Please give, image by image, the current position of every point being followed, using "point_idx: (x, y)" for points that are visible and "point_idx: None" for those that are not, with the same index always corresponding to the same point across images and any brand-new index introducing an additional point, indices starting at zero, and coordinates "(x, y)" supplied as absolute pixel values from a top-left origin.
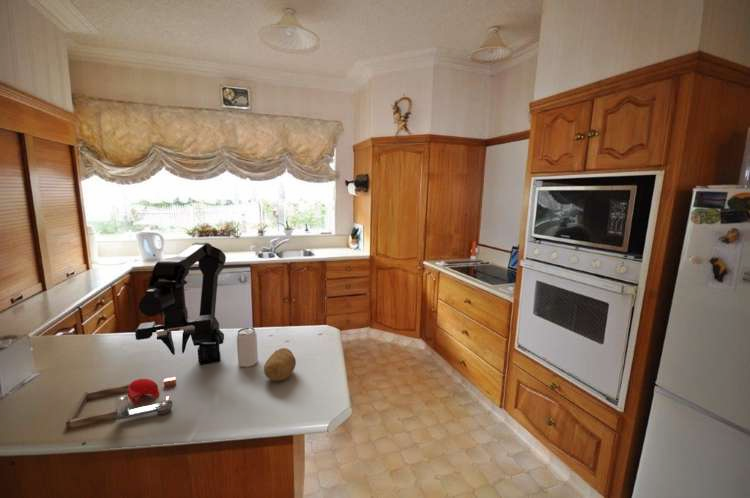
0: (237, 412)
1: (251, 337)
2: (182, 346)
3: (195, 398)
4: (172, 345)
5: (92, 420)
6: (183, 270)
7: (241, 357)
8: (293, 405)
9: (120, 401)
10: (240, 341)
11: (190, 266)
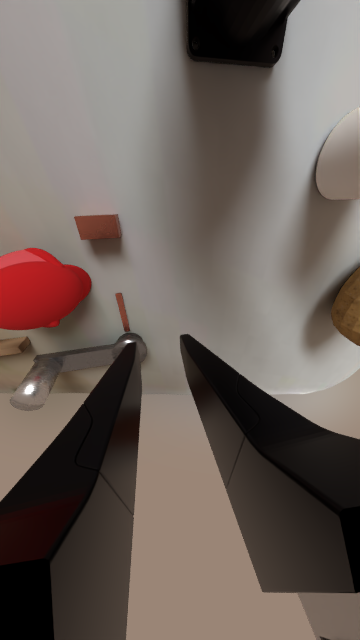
0: (246, 364)
1: None
2: (200, 410)
3: (184, 315)
4: (134, 426)
5: None
6: None
7: (352, 187)
8: (313, 363)
9: (36, 409)
10: None
11: None
